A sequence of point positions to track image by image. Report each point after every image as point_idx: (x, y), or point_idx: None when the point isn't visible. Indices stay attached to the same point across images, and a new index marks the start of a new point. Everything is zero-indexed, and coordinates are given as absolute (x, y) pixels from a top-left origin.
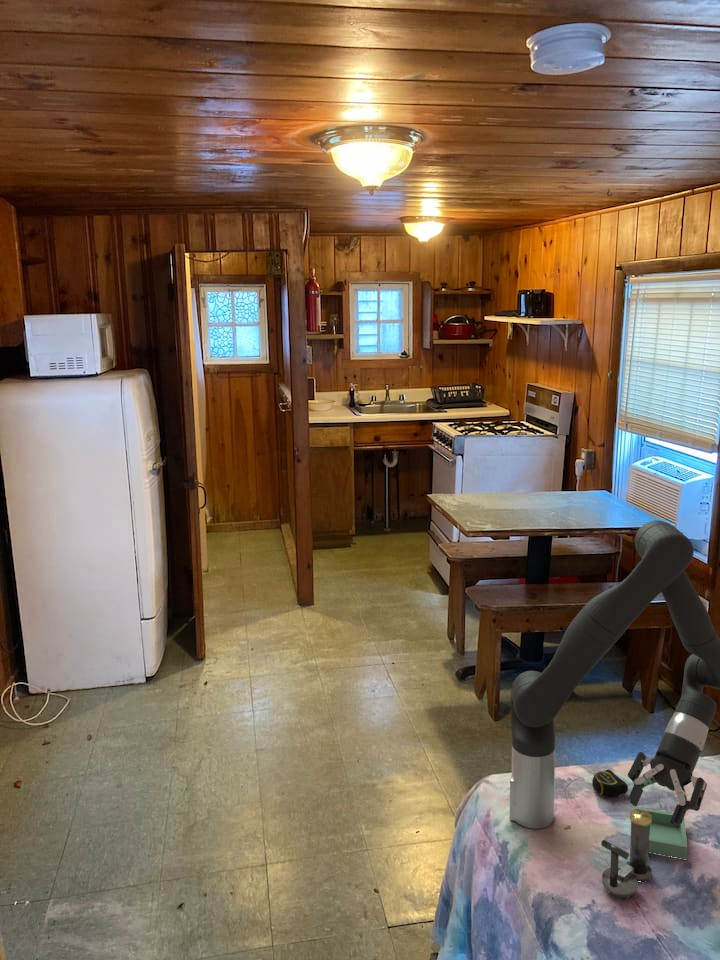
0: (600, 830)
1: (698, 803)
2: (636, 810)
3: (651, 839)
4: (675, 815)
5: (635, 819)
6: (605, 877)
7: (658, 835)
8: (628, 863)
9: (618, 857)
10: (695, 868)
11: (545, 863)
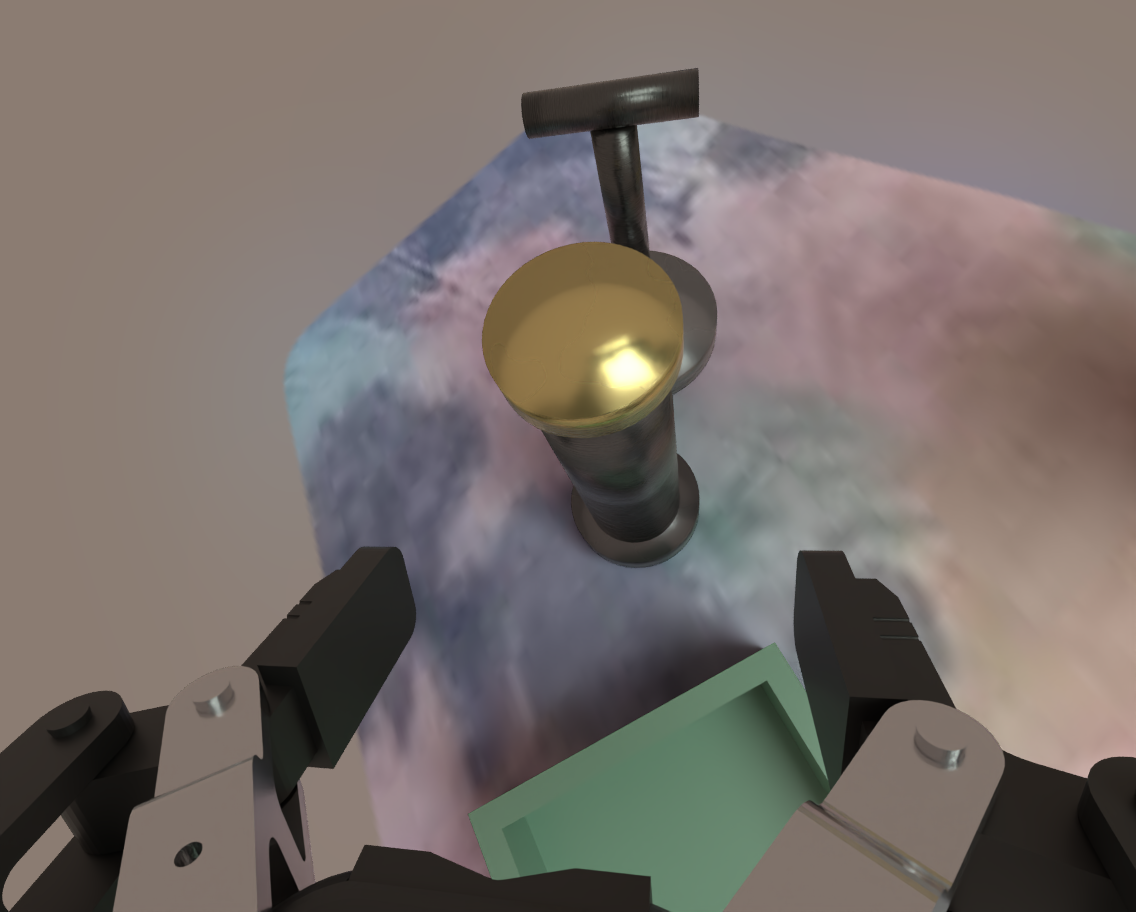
0: (1016, 689)
1: (62, 876)
2: (648, 353)
3: (670, 715)
4: (336, 583)
5: (587, 246)
6: (686, 279)
7: (715, 907)
8: (690, 494)
9: (594, 153)
10: (443, 766)
11: (984, 249)
